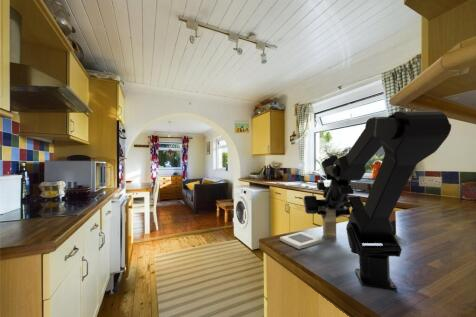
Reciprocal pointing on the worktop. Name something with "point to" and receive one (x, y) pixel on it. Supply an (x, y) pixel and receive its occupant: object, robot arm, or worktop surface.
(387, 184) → the robot arm
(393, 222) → the battery
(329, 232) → the wooden block
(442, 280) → the worktop surface
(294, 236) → the mat
